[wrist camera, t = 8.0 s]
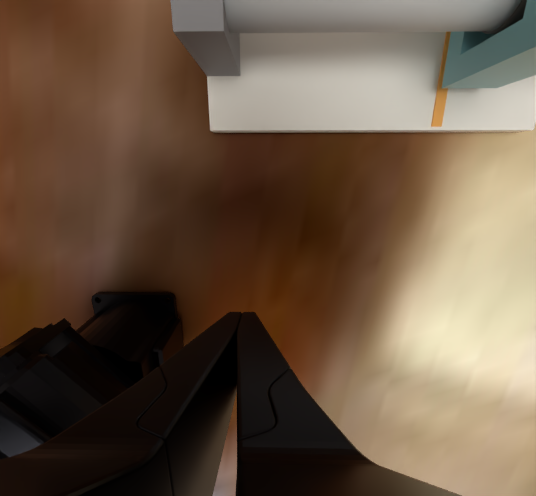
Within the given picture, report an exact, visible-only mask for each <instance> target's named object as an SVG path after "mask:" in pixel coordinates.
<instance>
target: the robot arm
mask: <svg viewBox="0 0 536 496" xmlns="http://www.w3.org/2000/svg"><path fill="white" fill-rule="evenodd" d="M98 297H99V298H100V299H101V300H99V299H98ZM166 298H169V299H170V300H171V301H168V300H167V299H166ZM92 304H93V309H94V314H95V315H94V316H93V317H92V318H91V319H89V320H88V321H87V322H86V323H85V324H83V325H82V326H81V327H80V328H79V329H78V330H76V331H75V330H74V329H73V328H72V327H71V326H70V325H71V324H70V323H69V322H68V321H67V320H66V319H65V318H64V319H62V320H61V321H60V322H58V323H57V324H55V325H53V324H52V323H51V324H49V325H48V326H46V327H45V328H33V329H31V330H30V331H28V332H27V333H26V334H24V335H23V336H21V337H20V338H18V339H17V340H15V341H14V342H12V343H11V344H9V345H7V346H6V347H4V348H2V349H0V496H212V495H213V491H214V486H215V482H216V478H217V473H218V469H219V465H220V461H221V456H222V452H223V448H224V443H225V439H226V435H227V431H228V426H229V422H230V418H231V413H232V409H233V405H234V400H235V396H236V392H237V481H236V496H461V495H459V494H456V493H453V492H450V491H448V490H445V489H442V488H439V487H437V486H434V485H431V484H428V483H426V482H423V481H420V480H417V479H415V478H412V477H409V476H406V475H404V474H401V473H398V472H395V471H393V470H390V469H387V468H384V467H382V466H379V465H377V464H375V463H374V462H372V461H371V460H369V459H368V458H367V457H365V456H364V455H363V454H362V453H361V452H360V451H359V450H357V449H356V447H355V446H354V445H353V444H352V443H351V442H350V441H349V440H348V439H347V437H346V436H345V435H344V434H343V433H342V432H341V431H340V429H339V428H338V427H337V426H336V425H335V424H334V423H333V421H332V420H331V419H330V418H329V417H328V416H327V415H326V413H325V412H324V411H323V410H322V409H321V408H320V407H319V405H318V404H317V403H316V402H315V401H314V399H313V398H312V397H311V396H310V395H309V393H308V392H307V391H306V389H305V388H304V387H303V385H302V384H301V382H300V381H299V380H298V378H297V377H296V375H295V373H294V372H293V370H292V369H291V368H290V366H289V364H288V363H287V361H286V360H285V358H284V357H283V355H282V354H281V352H280V350H279V349H278V347H277V346H276V344H275V343H274V341H273V340H272V338H271V336H270V335H269V333H268V332H267V330H266V329H265V327H264V326H263V324H262V322H261V321H260V319H259V318H258V316H257V315H256V313H255V312H243V313H241V312H229V313H227V314H226V315H225V316H223V317H222V318H221V319H220V320H218V321H217V322H216V323H214V324H213V325H212V326H210V327H209V328H208V329H206V330H205V331H204V332H203V333H201V334H200V335H199V336H197V337H196V338H195V339H193V340H192V341H191V342H190V343H188V344H187V345H186V346H184V347H183V336H182V326H181V320H180V319H179V318H178V316H177V307H176V298H175V296H174V295H173V294H172V293H150V292H98V293H96V294H95V295H93V296H92Z"/></svg>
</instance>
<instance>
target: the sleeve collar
mask: <svg viewBox="0 0 536 496" xmlns="http://www.w3.org/2000/svg"><path fill="white" fill-rule="evenodd" d="M534 75H536V0H527V3H526V7H525V11H524V16H523V19H522V20H520V21H518V22H516V23H515V24H513V25H511V26H509V27H508V28H506V29H504V30H503V31H501V32H499V33H497V34H485V33H483V32H482V31H462V32H451V34H450V40H449V47H448V53H447V59H446V65H445V71H444V77H443V83H442V88H499V87H502V86H505V85H507V84H510V83H513V82H516V81H519V80H522V79H525V78H528V77H531V76H534Z"/></svg>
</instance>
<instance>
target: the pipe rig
mask: <svg viewBox="0 0 536 496" xmlns="http://www.w3.org/2000/svg"><path fill="white" fill-rule="evenodd" d="M526 3H527V0H171V10H172V22H173V32H174V33H175V34H176V36H177V37H178V38H179V40H180V41H181V42H182V44H183V45H184V46H185V48H186V49H187V50H188V52H189V53H190V54H191V56H192V57H193V58H194V60H195V61H196V62H197V64H198V65H199V66H200V67H201V69H202V70H203V71H204V73H205V74H206V75H207V83H208V101H209V118H210V131H212V132H214V133H309V132H522V131H530V130H534V127H535V123H536V75H534V76H531V77H528V78H525V79H522V80H519V81H516V82H513V83H510V84H507V85H505V86H502V87H499V88H442V83H443V77H444V71H445V65H446V59H447V53H448V47H449V40H450V34H451V32H462V31H482V32H483V33H485V34H497V33H499V32H501V31H503V30H504V29H506V28H508V27H509V26H511V25H513V24H515V23H516V22H518V21H520V20H522V19H523V16H524V11H525V7H526Z"/></svg>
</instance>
